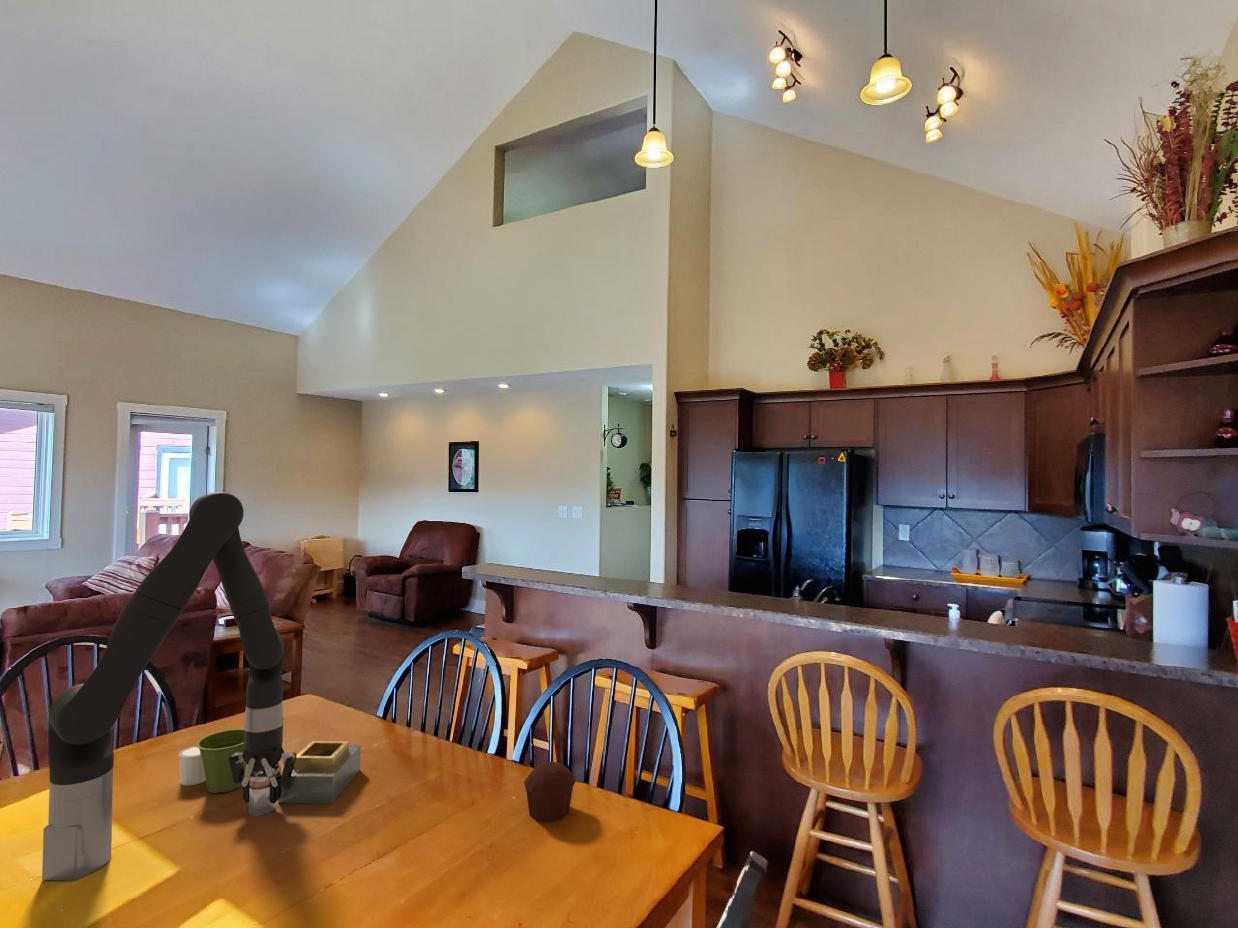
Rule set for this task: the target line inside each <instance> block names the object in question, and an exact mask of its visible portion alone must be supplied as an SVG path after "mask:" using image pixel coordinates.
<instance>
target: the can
mask: <svg viewBox="0 0 1238 928" xmlns="http://www.w3.org/2000/svg"><path fill="white" fill-rule="evenodd" d="M273 769H274V768H273ZM273 769H272V770H273ZM271 787H272V784H271V781H270V778H268V777H267V774H266V772H262V771H259V772H255V773H253V774H252V775H251V776H250V778H249V803H248V815H250V816H252V817H261V816H264V815H268V814H270V813H271V812H273V811H274V810H275V805H276V803H271Z"/></svg>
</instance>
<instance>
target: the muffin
mask: <svg viewBox="0 0 1238 928" xmlns="http://www.w3.org/2000/svg"><path fill="white" fill-rule="evenodd" d="M523 783H524V788H525V790H526V791H525V792H526V798H527V804H528V805H527V806H528V814H529V817H531V818H533V819H534V820H535V821H536V822H545V823H552V822H557V821H562V820H563V819H564V817H566V816H568V815H569V813H570V808H571V807H570V806H571V801H572V795H573V790H574V786H575V785H576V784H575V783H576V779H575V777H574V775H573V773H572V772H571V771H570V769H569V768H568V767H566V766H565V765H563V764H562V763H560V762H556V761H546V762H543V763H541V764H539V765H537V766H535V767H534V768H533V769H532V770H531V771H530V772H529V774H528V775H527V777H526V778H525V779H524V781H523Z"/></svg>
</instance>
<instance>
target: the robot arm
mask: <svg viewBox="0 0 1238 928" xmlns="http://www.w3.org/2000/svg"><path fill="white" fill-rule="evenodd" d="M244 512H245V511H244V506H243V504H242V501H241V500H239V498H238V497H236V496H235V495H234V494H232V493H229V492H225V491H223V492H222V491H215V492H210V493H207V494H204V495H202V496H200V497H198V498H197V499H196V500H195V501H194V502H193V503H192V505H191V506H190V508H189V512H188V513H189V514H188V516H189V519H188V522H187V524H186V525H185V527H184V529H183V530H182V533H181V534H180V536H179V538H178V539H177V541H176V542H175V544H174V545H173V546H172V548H171V549H170V551H169V552H168V553H167V554H166V555H165V556H164V557H163V558H162V559H161V560H160V561H159V562H158V564H156V565H155V567H154V568H153V569H152V570H151V571H150V572H149V573H148V574H147V575H146V577H145V578H144V579H143V580H142V581H141V583H140V584H139V585H138V587H137V588H136V589H135V591H134V592H133V593H132V595H131V597H130V598H129V599H128V601H127V603H126V604H125V606H124V607H123V608H122V610H121V612H120V613H119V616H118V617H117V620H116V621H115V624H114V625H113V628H112V631H111V634H110V636H109V638H108V641H107V644H106V647H105V649H104V653H103V655H102V656H101V658H100V660H99V662H98V663H97V665H96V667H95V668H94V670H93V671H92V672H91V674H90V675H89V676H88V678H87V679H86V680H85V682H83V683H78V684H75V685H73V686H70V687H69V688H66V689H65V690H64V691H62V692H61V693H60V694H58V696H57V697H55V699H54V700H53V702H52V703H51V706H50V708H49V711H48V719H47V720H48V721H47V722H48V724H47V760H48V761H47V762H48V769H49V772H48V773H49V778H48V779H49V785H48V786H49V792H48V795H49V796H48V816H47V817H48V823H47V825H45V827H44V828H43V831H42V833H43V835H42V837H43V838H42V870H41V871H42V872H41V880H42V881H78V880H79V878H82V877H83V876H86V875H88V874H91V873H93V872H96V871H97V870H98V869H100V868H102V867H103V866H105V865H106V864H107V863H108V862H110V860H111V858H112V841H113V840H112V839H113V838H112V835H113V801H114V798H113V795H114V769H115V768H114V767H115V766H114V765H115V764H114V763H115V754H114V753H115V752H114V748H113V741H112V736H111V735H112V727H113V726H114V725H116V722H117V720H118V718H119V717H120V714H121V713H122V711H123V709H124V707H125V705H126V703H127V701H128V699H129V697H130V695H131V693H132V692H133V689H134V687H135V686H136V683H137V682H138V681H139V678H140V676H141V675H142V672H143V671H144V670H145V668H146V667H147V665H148V664H149V663H150V661H151V660H152V659H153V657H154V656H155V654H156V653H157V651H158V649H160V647H161V646H162V644H163V642H164V641H165V639H166V638H167V636H168V634H169V633H170V632H171V630H172V629H173V627H174V626H175V624H176V623H177V621H178V620H179V618H180V617H181V615H182V614H183V612H184V611H185V609H186V607H187V606H188V604H189V602H190V600H191V599H192V597H193V595H194V593H195V592H196V590H197V588H198V586H199V584H200V583H201V581H202V579H203V577H204V576H205V573H206V571H207V569H208V568H209V566H210V564H211V563H212V561H213V563H214V565H215V569H216V570H217V573H218V576H219V579H220V582H221V585H222V588H223V589H222V590H223V591H224V594H225V597H226V600H227V603H228V606H229V608H230V611H231V615H232V616H233V619H234V621H235V623H236V625H237V628H238V632H239V633H238V634H239V637H240V641H241V645H242V648H243V652H244V655H245V657H246V660H247V662H248V673H249V674H248V681H247V684H246V696H245V698H246V699H245V700H246V701H245V702H246V703H245V712H244V719H243V721H244V723H243V729H244V752H242V753H240V752H236V753H235V754H234V755H232V756H231V757H230V758H229V762H230V767H231V772H232V776H233V781H234V783H240V784H242V785H241V786H242V800H243V801H244V803H245V804H249V778H250V776H251V775H252V774H253V773H255V772H259V771H262V772H266V774H267V777H268V778H270V781H271V784H272V787H271V803H275V804H276V803H278V799H279V798H280V797H281V788H282V784H285V783H286V782H287V781H288V780H289V779H290V778H291V776H292V772H293V768H294V764H295V760H296V756H297V754H298V753H296V752H292V753H287V752H285V750H284V748H283V740H284V720H285V718H284V706H283V705H284V704H283V699H284V698H283V696H284V695H283V693H284V692H283V691H284V686H283V665H284V654H285V653H284V652H285V651H284V650H285V641H284V637H283V635H281V633H279V632H278V631H277V630H276V627H275V624H274V622H273V619H272V609H271V606H270V604H269V600H268V598H267V597H268V596H267V595H266V592H265V589H264V586H263V584H262V582H261V580H260V578H259V575H258V574H257V572H256V569H254V567H253V565H252V563H251V560H250V559H249V556H248V554H247V552H246V549H245V547H244V545H243V542H242V539H241V533H240V529H239V527H240V526H241V524H242V522H243V519H244V514H245V513H244ZM243 759H244V760H245V762H246V763H247V766H246V771H244V766H243ZM281 760H282V765H283V769H282V767H281V764H280V761H281ZM272 769H273V770H272ZM281 771H282V772H281ZM281 773H282V774H281Z"/></svg>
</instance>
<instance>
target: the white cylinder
mask: <svg viewBox="0 0 1238 928" xmlns="http://www.w3.org/2000/svg"><path fill="white" fill-rule="evenodd" d="M178 760H179V761H178V762H179V772H180V773H179V774H180V784H181V785H182V786H194V785H199V784H201V783H204V782H206V778H205V772H204V766H203V760H202V757H201V754H200V749H199V748H198V747H197V745H192V746H190V747H189V746H188V747H186V748H184V749H182V750H180V752H179V753H178Z"/></svg>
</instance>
